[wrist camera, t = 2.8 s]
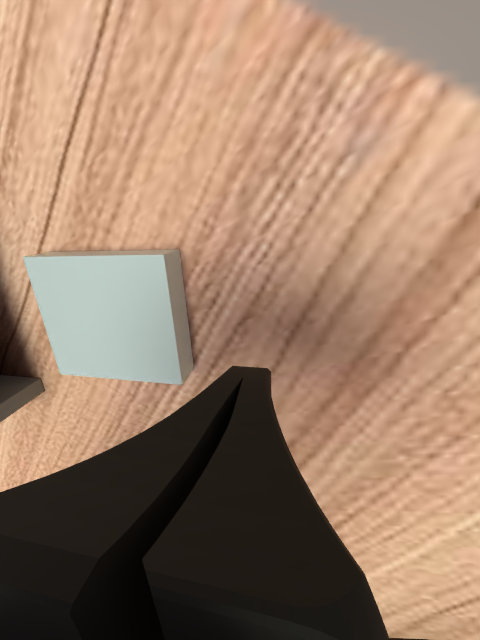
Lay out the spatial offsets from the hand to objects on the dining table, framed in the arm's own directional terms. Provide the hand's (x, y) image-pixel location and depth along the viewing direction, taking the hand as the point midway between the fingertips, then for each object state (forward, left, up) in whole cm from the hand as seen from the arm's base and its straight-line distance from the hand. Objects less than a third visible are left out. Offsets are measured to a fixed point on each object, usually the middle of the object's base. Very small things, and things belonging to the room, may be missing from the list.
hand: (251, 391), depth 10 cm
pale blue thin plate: (0, +10, -8) cm, 13 cm away
